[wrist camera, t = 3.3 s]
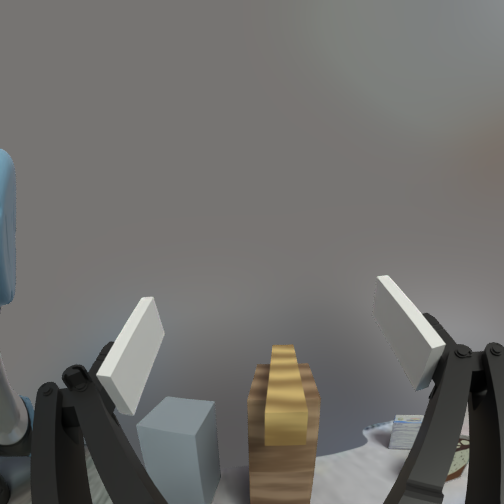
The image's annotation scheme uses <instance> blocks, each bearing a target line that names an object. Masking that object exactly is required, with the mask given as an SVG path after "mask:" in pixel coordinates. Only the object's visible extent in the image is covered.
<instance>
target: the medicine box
mask: <svg viewBox="0 0 504 504" xmlns="http://www.w3.org/2000/svg"><path fill="white" fill-rule="evenodd" d="M423 418H424V416H423V415H396V416H395V419H394V422H393V428H392V433H391V438H390V443H389V447H388V449H411V448H412V446H413V444H414V441H415V439H416V436H417V434H418V431H419V429H420V426H421V423H422V421H423Z"/></svg>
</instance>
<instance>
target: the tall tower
mask: <svg viewBox="0 0 504 504" xmlns="http://www.w3.org/2000/svg"><path fill="white" fill-rule="evenodd" d="M270 365H271V364H257V368H256V371H255V375H254V378H253V382H252V386H251V389H250V393H249V396H248V400H247V403H248V442H249V443H248V444H249V479H250V504H310V498H311V491H312V484H313V476H314V468H315V460H316V449H317V440H318V429H319V416H320V400H321V398H320V395H319V392H318V390H317V387H316V384H315V381H314V378H313V376H312V373H311V370H310V367H309V364H308V363H305V364H298V368H299V373H300V377H301V382H302V386H303V391H304V395H305V400H306V404H307V409H308V422H307V437H306V445H287V446H265V407H266V399H267V391H268V382H269V373H270Z"/></svg>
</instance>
